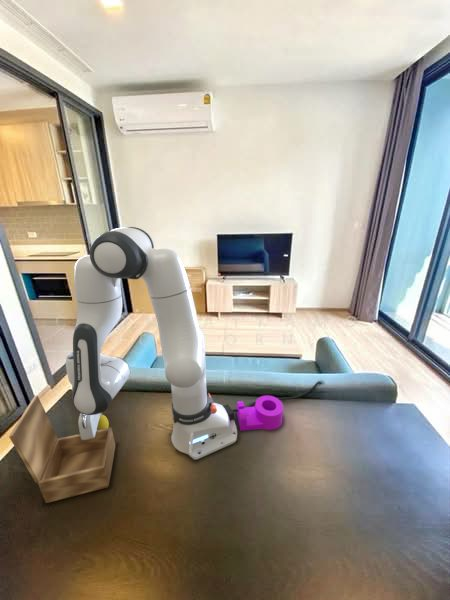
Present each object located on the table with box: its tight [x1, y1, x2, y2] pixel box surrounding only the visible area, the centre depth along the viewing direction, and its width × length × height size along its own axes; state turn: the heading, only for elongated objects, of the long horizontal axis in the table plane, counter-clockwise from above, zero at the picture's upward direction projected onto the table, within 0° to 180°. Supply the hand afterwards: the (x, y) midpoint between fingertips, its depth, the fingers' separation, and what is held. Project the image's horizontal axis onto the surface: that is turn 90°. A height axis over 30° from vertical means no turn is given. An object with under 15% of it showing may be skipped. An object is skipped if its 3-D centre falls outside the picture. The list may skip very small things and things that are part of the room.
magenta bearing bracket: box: [236, 395, 284, 432], centre depth 91 cm, size 16×10×6 cm, turn 96°
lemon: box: [97, 414, 110, 430], centre depth 85 cm, size 6×6×8 cm
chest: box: [37, 427, 116, 504], centre depth 73 cm, size 16×14×8 cm
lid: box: [8, 395, 58, 484], centre depth 66 cm, size 16×14×1 cm
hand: (97, 426), depth 85 cm, fingers closed on lemon, 5 cm apart
